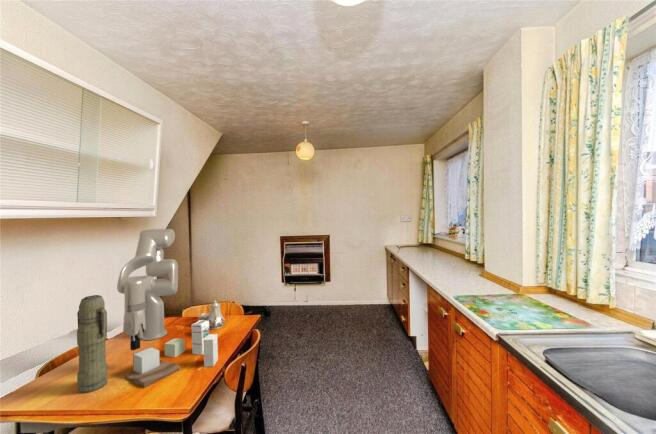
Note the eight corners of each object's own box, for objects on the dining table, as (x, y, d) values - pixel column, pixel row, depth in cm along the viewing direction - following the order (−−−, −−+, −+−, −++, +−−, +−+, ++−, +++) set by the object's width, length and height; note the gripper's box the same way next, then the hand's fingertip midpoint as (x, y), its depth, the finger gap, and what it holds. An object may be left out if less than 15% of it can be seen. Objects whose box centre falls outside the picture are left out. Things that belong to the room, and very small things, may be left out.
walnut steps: (125, 377, 112) (125, 373, 112) (160, 362, 124) (160, 357, 124) (144, 387, 105) (144, 382, 105) (179, 370, 117) (179, 365, 117)
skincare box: (208, 360, 125) (208, 334, 125) (218, 359, 125) (217, 333, 126) (203, 367, 119) (203, 339, 119) (213, 366, 119) (213, 339, 120)
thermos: (88, 379, 111) (87, 293, 112) (116, 379, 111) (115, 293, 111) (67, 393, 103) (66, 300, 103) (97, 393, 102) (96, 299, 102)
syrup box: (202, 355, 130) (202, 324, 130) (191, 354, 131) (191, 323, 131) (210, 349, 136) (209, 320, 136) (199, 348, 137) (199, 319, 137)
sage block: (164, 356, 130) (164, 343, 130) (174, 350, 136) (174, 338, 136) (175, 357, 129) (174, 344, 129) (184, 351, 134) (184, 339, 135)
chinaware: (196, 324, 174) (193, 298, 173) (224, 317, 181) (221, 292, 180) (194, 342, 148) (190, 312, 148) (227, 333, 155) (223, 304, 155)
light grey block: (133, 353, 116) (141, 357, 112) (150, 347, 122) (159, 350, 119) (133, 370, 116) (142, 374, 112) (150, 362, 122) (159, 366, 118)
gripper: (117, 307, 122) (117, 349, 122) (134, 311, 115) (134, 356, 114) (135, 303, 129) (135, 342, 128) (153, 307, 121) (153, 348, 121)
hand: (135, 348), depth 121 cm, fingers closed
